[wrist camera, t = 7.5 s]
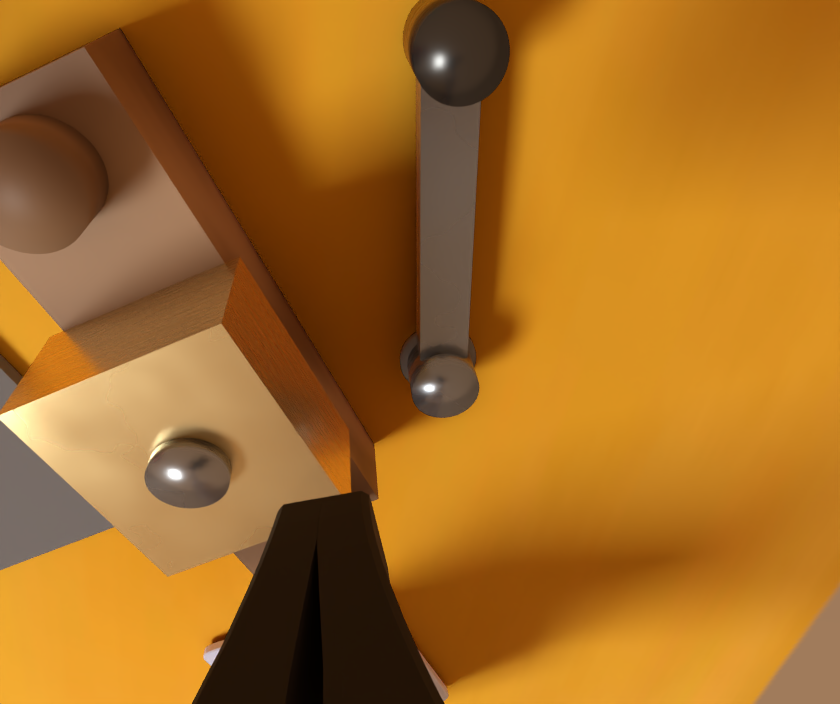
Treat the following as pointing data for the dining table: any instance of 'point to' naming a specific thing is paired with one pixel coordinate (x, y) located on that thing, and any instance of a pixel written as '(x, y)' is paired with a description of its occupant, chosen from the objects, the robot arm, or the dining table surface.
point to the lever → (448, 188)
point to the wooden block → (184, 418)
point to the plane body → (126, 208)
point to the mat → (36, 496)
